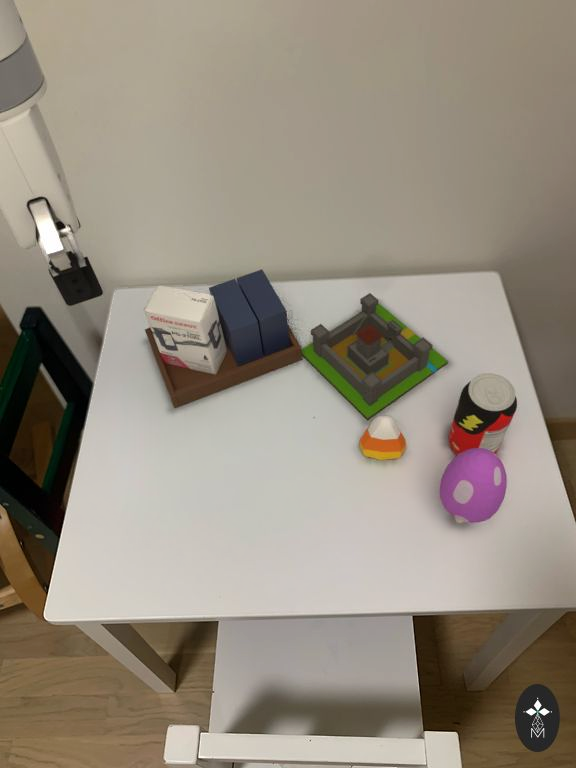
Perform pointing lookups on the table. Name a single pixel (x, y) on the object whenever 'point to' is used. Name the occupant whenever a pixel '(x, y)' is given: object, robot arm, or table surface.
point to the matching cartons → (251, 317)
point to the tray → (219, 372)
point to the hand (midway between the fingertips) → (74, 263)
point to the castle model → (372, 358)
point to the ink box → (186, 328)
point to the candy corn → (383, 439)
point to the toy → (473, 485)
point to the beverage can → (483, 413)
